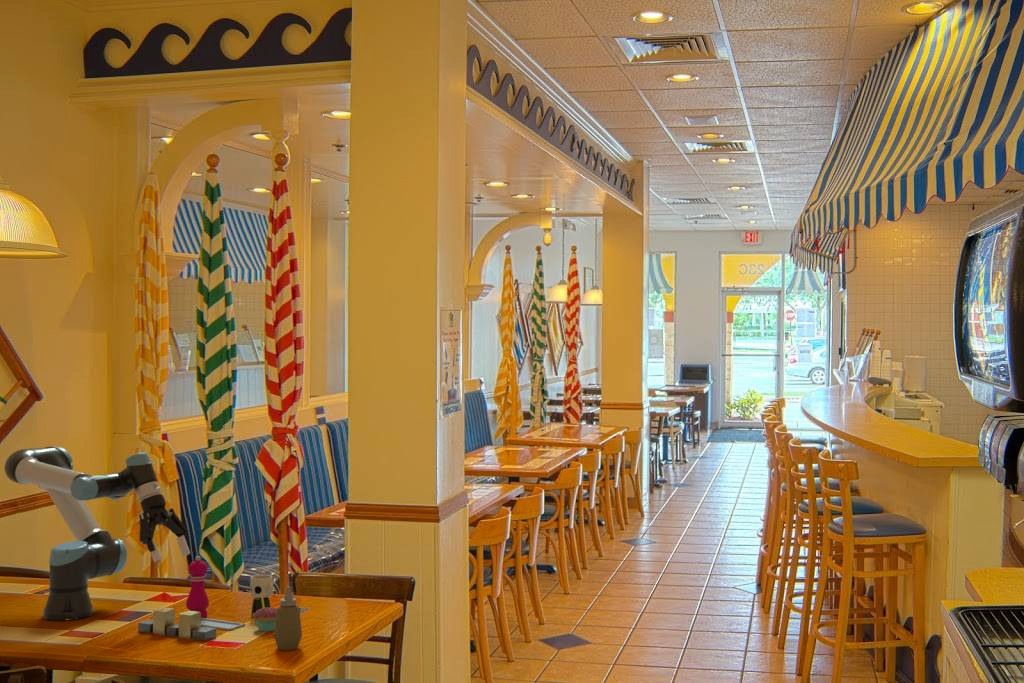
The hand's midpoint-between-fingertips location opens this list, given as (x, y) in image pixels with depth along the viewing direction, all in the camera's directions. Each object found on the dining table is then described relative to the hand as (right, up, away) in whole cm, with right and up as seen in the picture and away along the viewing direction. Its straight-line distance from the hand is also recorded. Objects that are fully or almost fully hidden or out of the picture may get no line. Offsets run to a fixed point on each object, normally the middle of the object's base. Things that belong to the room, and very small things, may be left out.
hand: (172, 557), depth 345 cm
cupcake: (+34, -20, -13) cm, 41 cm away
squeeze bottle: (+45, -20, -33) cm, 59 cm away
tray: (+16, -20, -9) cm, 27 cm away
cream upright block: (+3, -19, -18) cm, 27 cm away
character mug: (+28, -20, +5) cm, 35 cm away
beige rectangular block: (+12, -19, -22) cm, 32 cm away
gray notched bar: (+8, -20, -20) cm, 29 cm away
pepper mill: (+7, -20, +3) cm, 22 cm away
